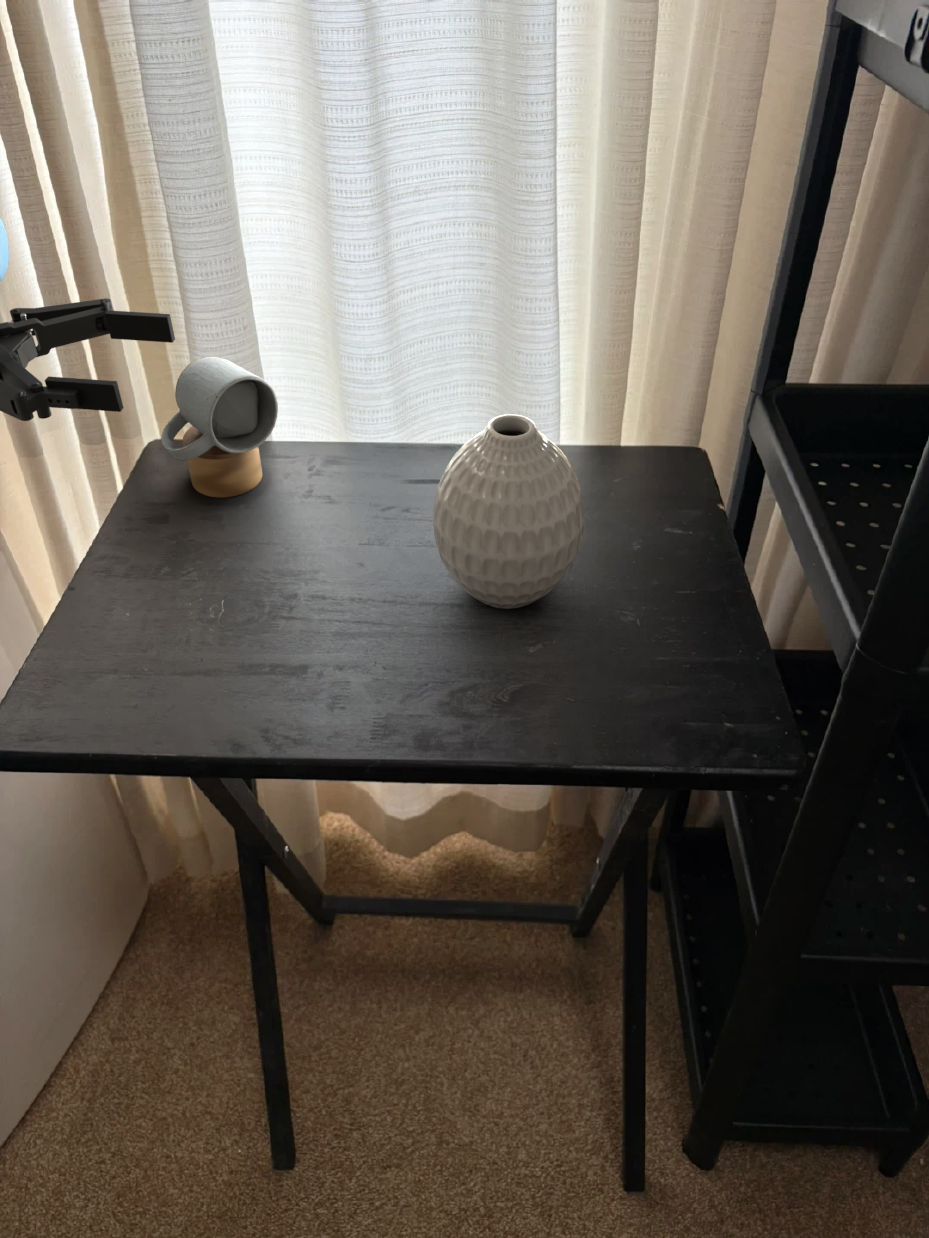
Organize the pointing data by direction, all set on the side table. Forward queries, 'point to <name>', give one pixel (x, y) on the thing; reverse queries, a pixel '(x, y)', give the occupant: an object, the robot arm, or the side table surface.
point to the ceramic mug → (221, 408)
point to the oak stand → (223, 469)
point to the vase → (508, 514)
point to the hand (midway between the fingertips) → (146, 361)
